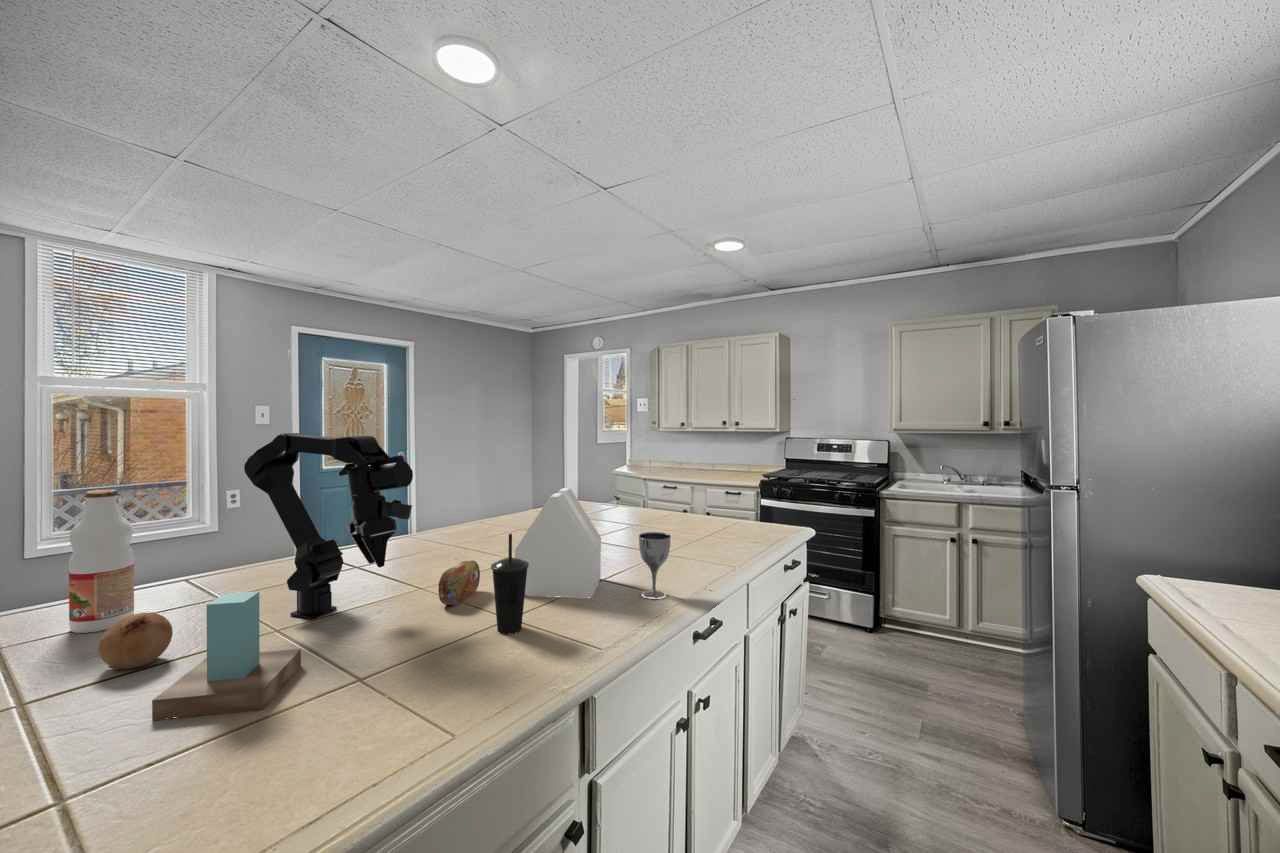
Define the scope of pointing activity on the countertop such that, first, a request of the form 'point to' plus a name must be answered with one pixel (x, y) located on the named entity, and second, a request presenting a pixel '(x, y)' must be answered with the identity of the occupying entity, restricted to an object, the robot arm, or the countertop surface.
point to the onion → (135, 641)
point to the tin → (459, 583)
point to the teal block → (232, 636)
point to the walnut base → (227, 688)
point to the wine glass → (654, 555)
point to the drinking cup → (509, 591)
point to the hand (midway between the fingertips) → (376, 565)
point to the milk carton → (561, 550)
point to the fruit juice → (100, 565)
